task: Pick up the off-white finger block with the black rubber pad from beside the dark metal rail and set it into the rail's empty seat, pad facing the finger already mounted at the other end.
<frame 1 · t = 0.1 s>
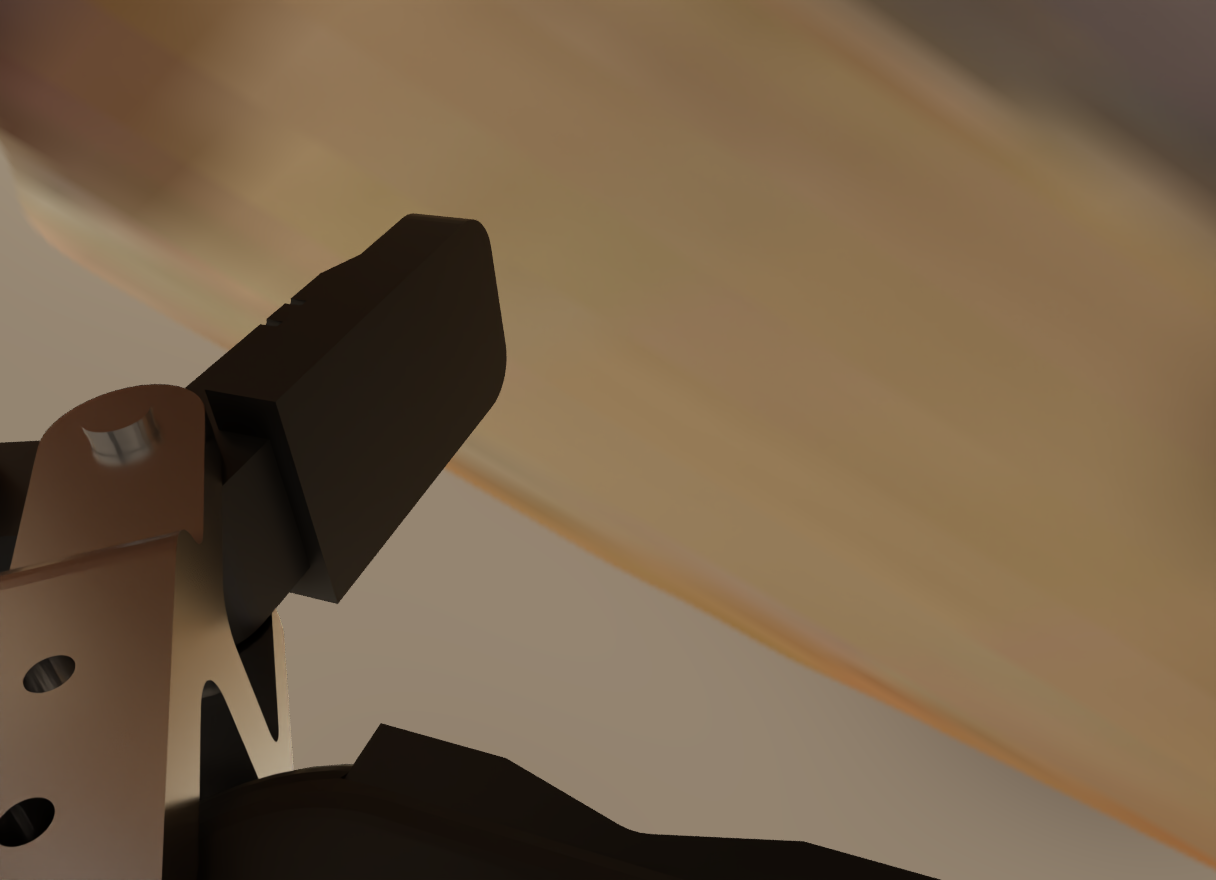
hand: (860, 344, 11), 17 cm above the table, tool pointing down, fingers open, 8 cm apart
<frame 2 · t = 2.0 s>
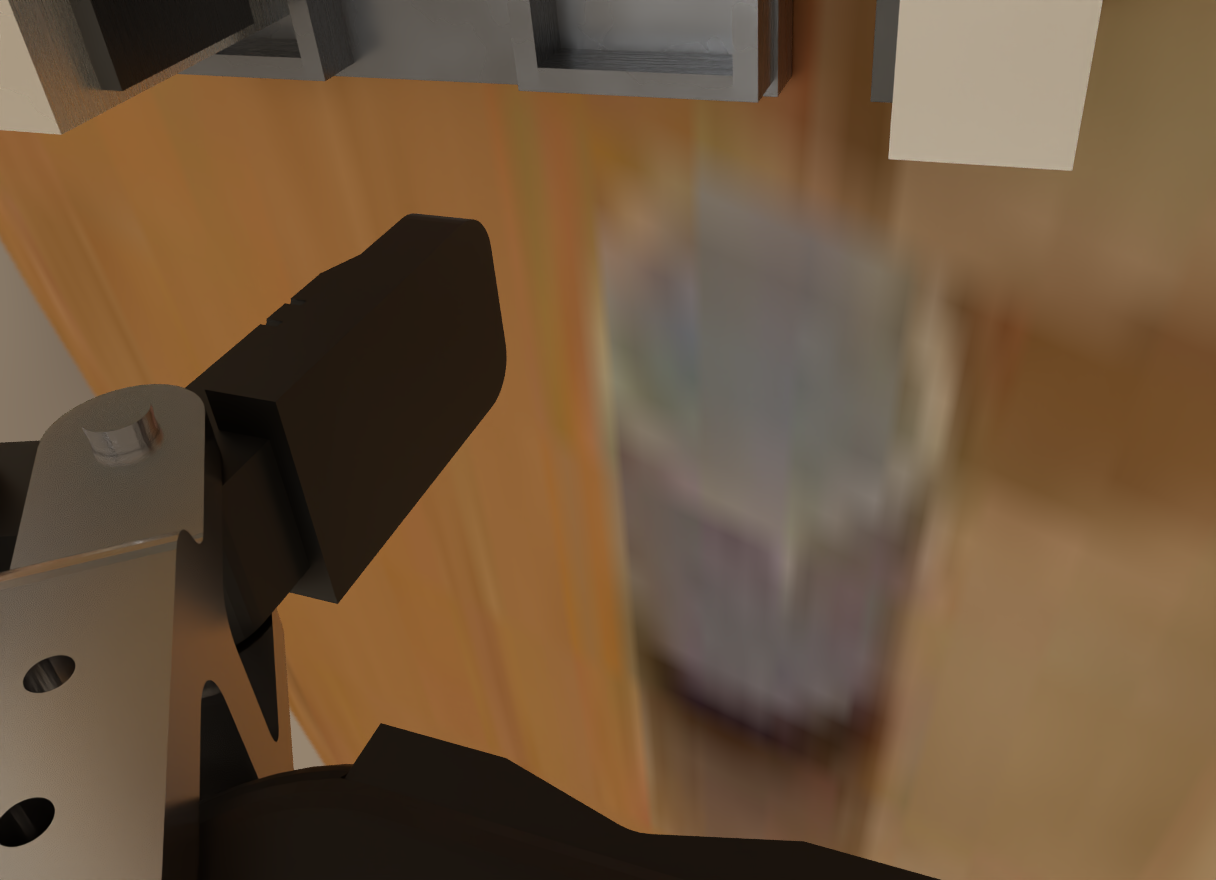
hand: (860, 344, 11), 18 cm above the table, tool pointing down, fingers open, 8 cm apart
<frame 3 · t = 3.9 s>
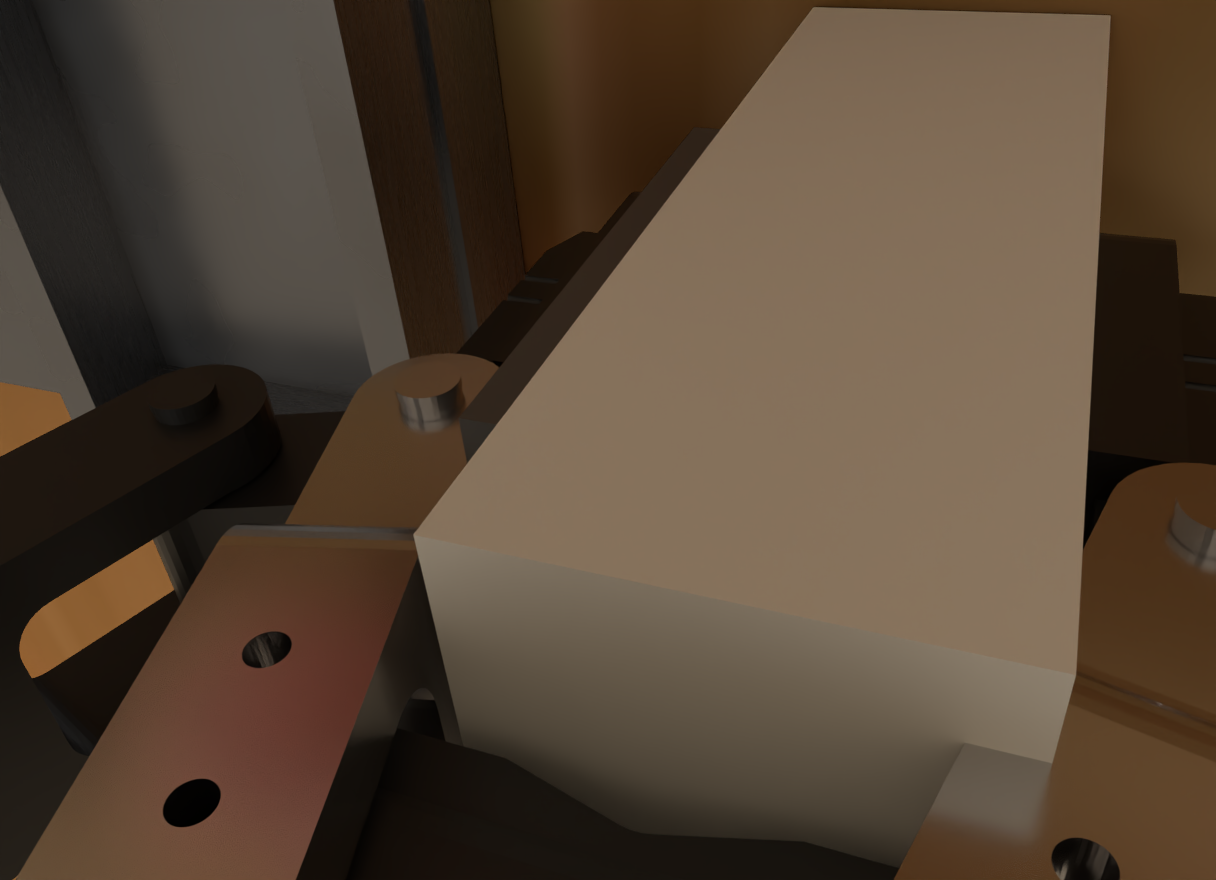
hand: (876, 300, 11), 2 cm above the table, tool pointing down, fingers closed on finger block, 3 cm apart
finger block: (933, 210, 13), on the table, touching gripper
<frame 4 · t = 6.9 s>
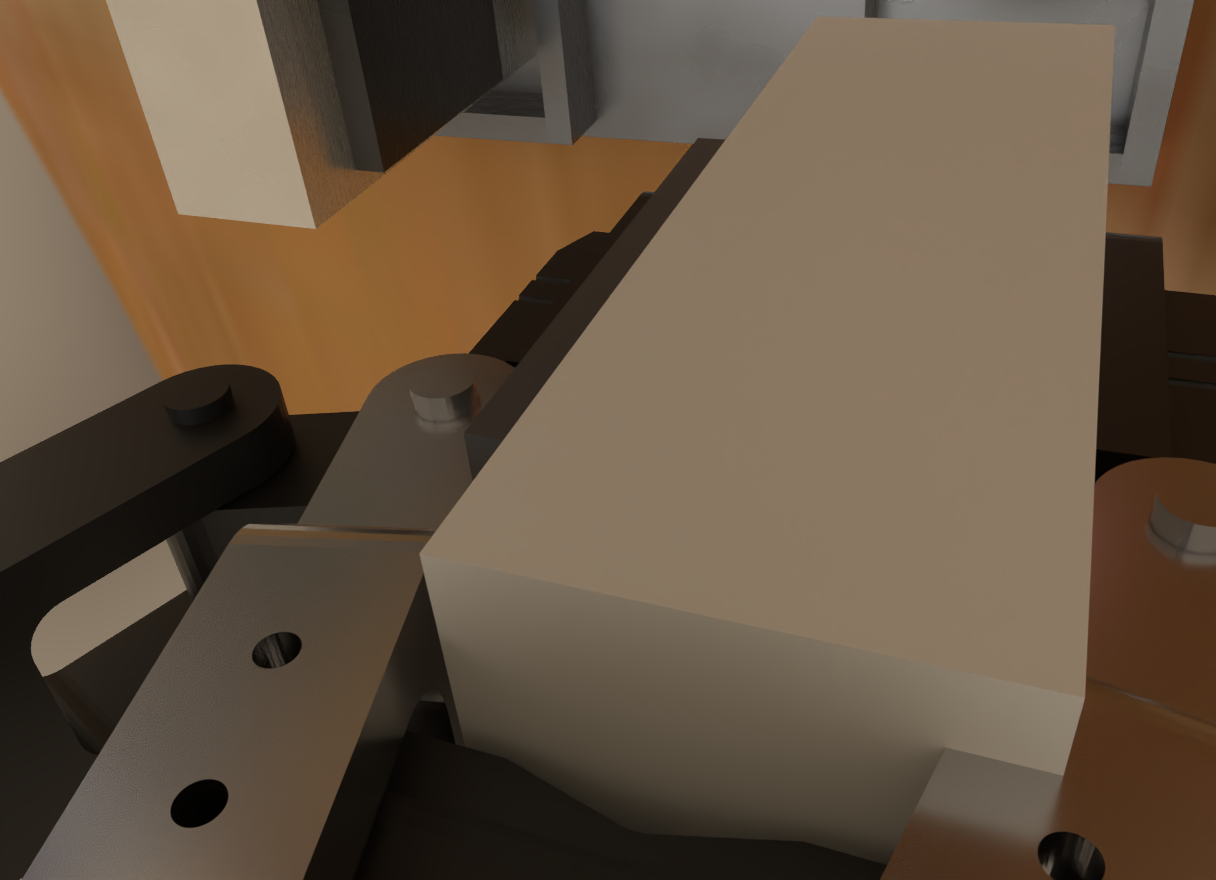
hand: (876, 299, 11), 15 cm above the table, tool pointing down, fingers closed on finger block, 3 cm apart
finger block: (937, 218, 13), point 13 cm above the table, touching gripper
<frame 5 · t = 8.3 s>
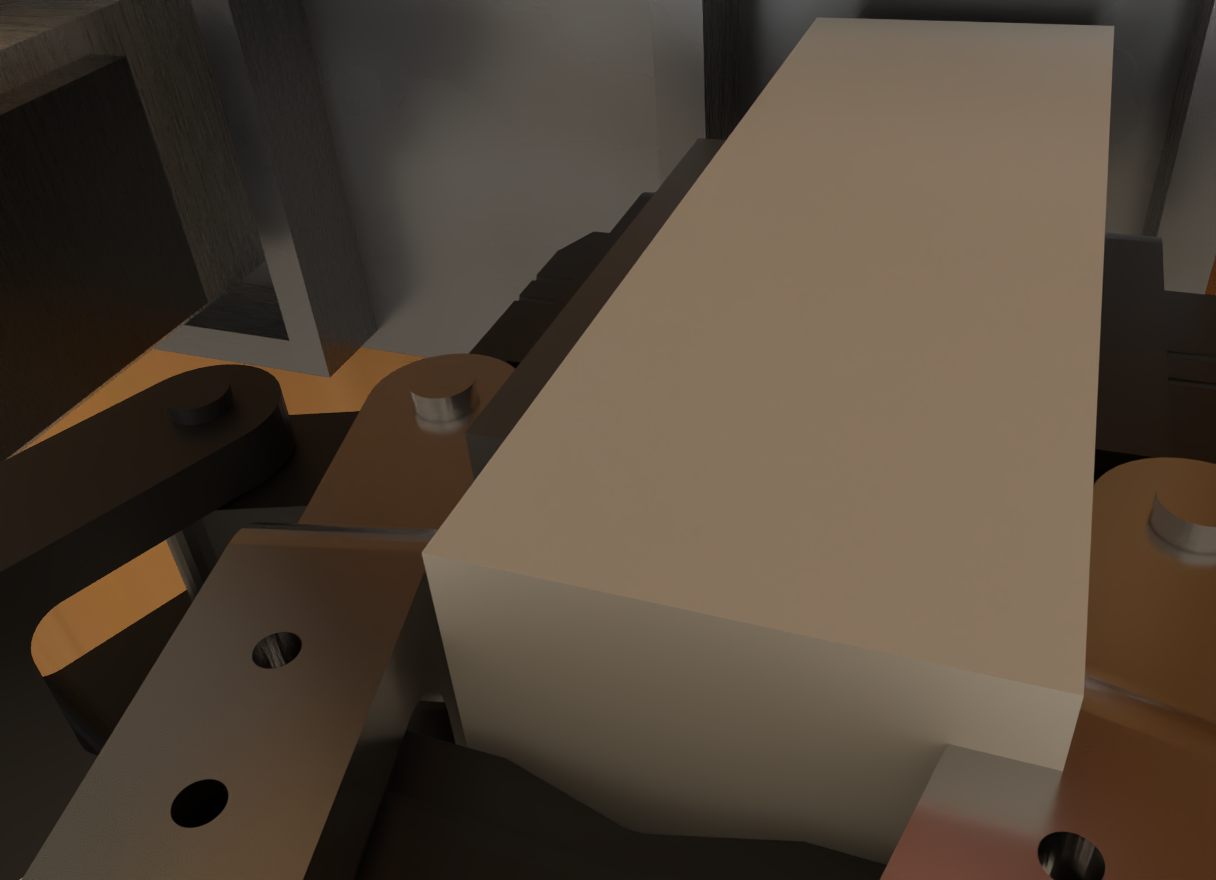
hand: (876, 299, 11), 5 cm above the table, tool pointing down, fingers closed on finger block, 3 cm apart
finger block: (936, 219, 13), point 3 cm above the table, touching gripper
rail: (543, 101, 17), on the table
when the fingers open (5 cm above the table, at t = 8.6 s): finger block stays where it is, resting on rail.
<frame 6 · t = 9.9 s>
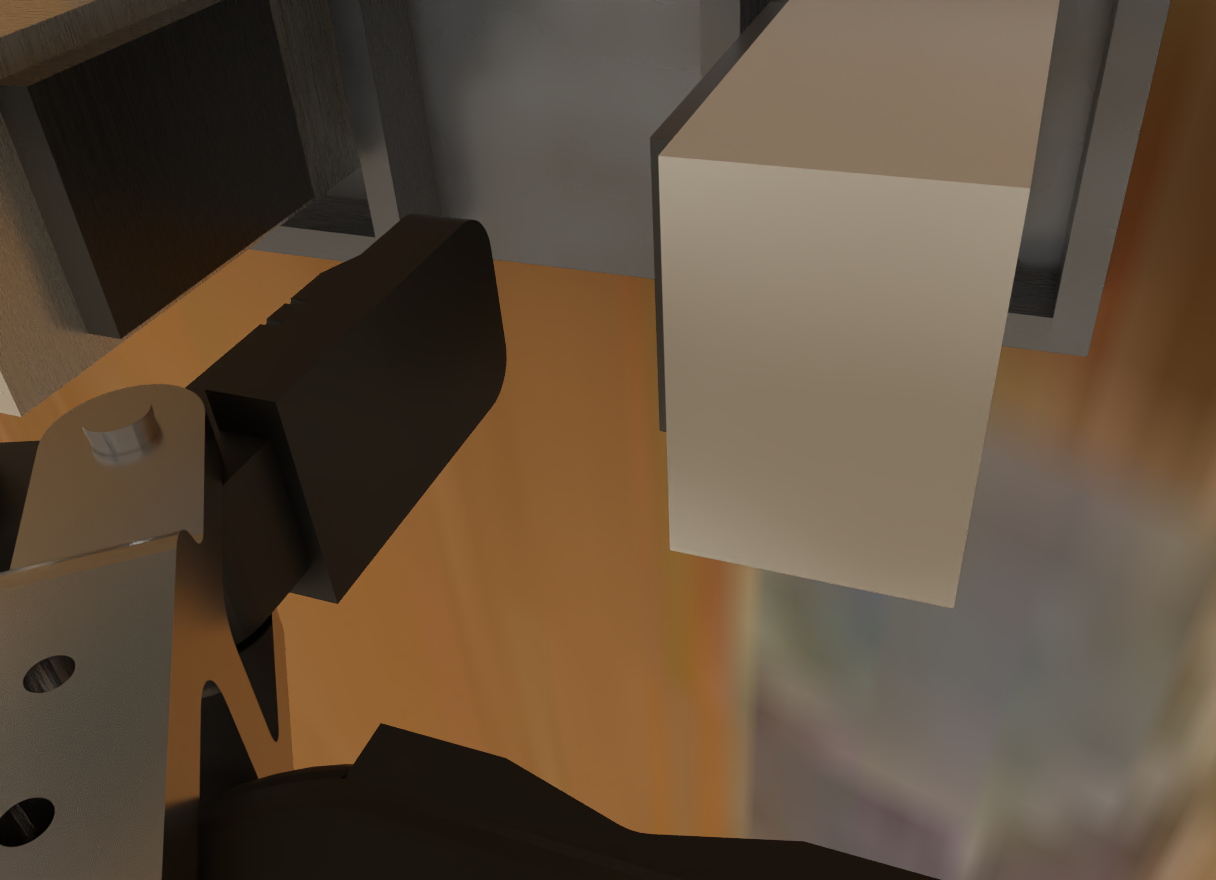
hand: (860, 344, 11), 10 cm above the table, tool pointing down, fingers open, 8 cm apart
finger block: (938, 84, 17), point 1 cm above the table, touching rail
rail: (595, 36, 20), on the table
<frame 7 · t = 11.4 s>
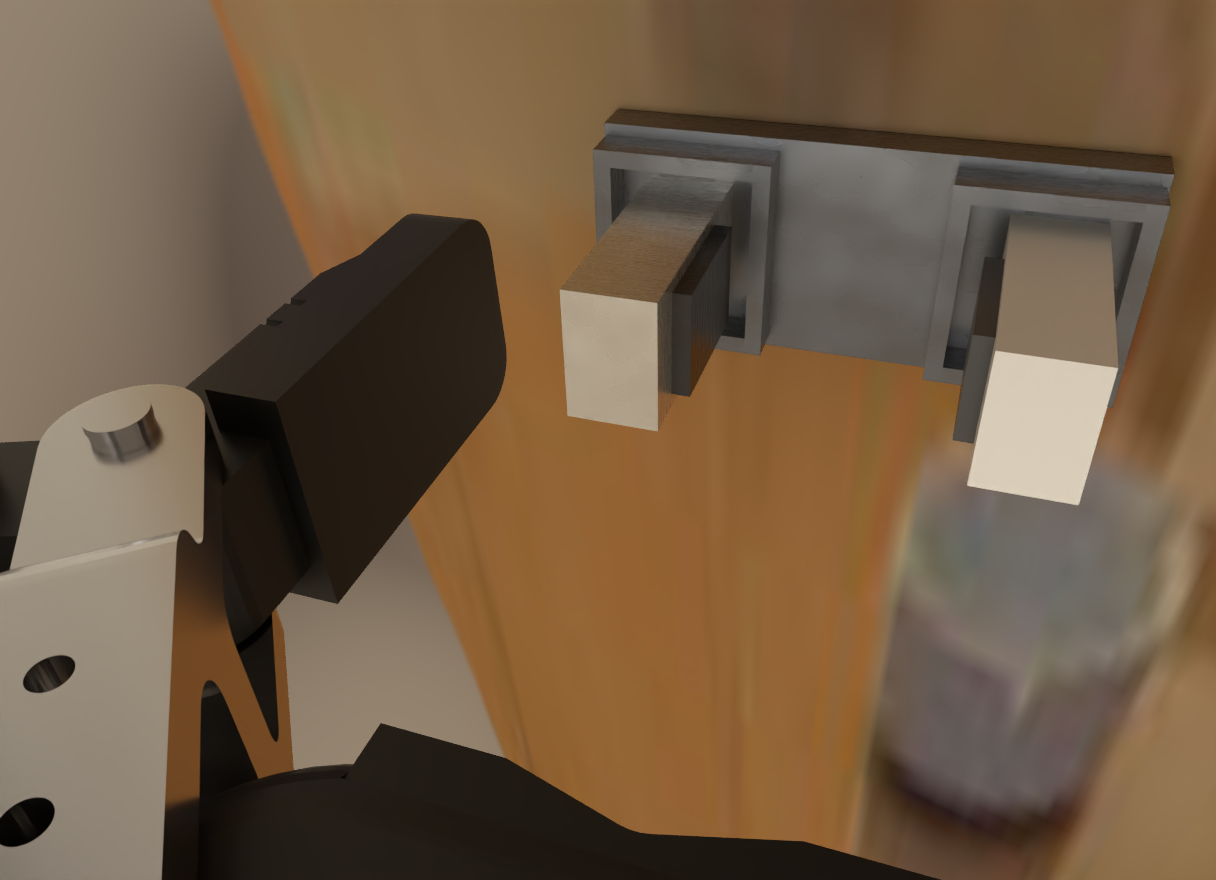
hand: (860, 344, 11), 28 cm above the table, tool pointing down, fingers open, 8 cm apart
finger block: (1045, 281, 36), point 1 cm above the table, touching rail
rail: (862, 239, 39), on the table
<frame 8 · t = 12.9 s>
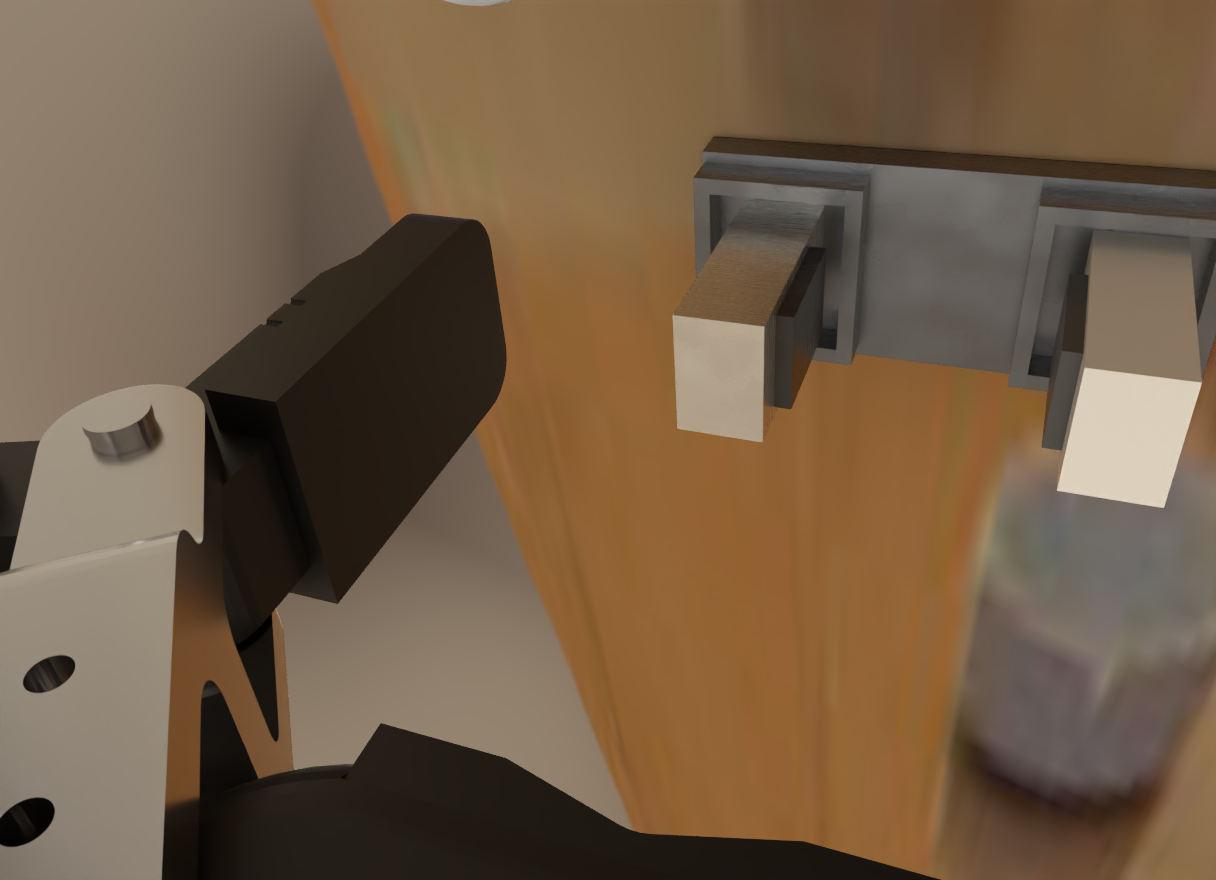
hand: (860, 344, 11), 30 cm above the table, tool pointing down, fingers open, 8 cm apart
finger block: (1126, 292, 38), point 1 cm above the table, touching rail
rail: (948, 254, 42), on the table
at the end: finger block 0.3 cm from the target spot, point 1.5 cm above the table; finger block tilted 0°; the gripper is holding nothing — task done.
